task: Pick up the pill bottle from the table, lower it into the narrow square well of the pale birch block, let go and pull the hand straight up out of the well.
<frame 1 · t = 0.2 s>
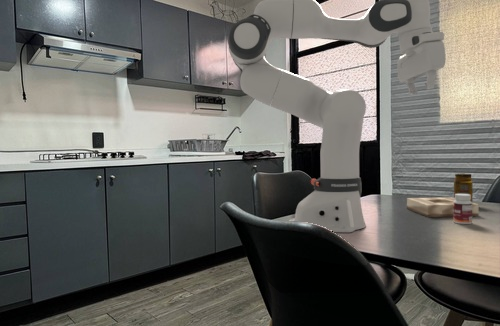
hand: (421, 91, 100), 39 cm above the table, tool pointing down, fingers open, 8 cm apart
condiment: (461, 206, 131), on the table
well block: (440, 212, 119), on the table
pill bottle: (462, 223, 102), on the table
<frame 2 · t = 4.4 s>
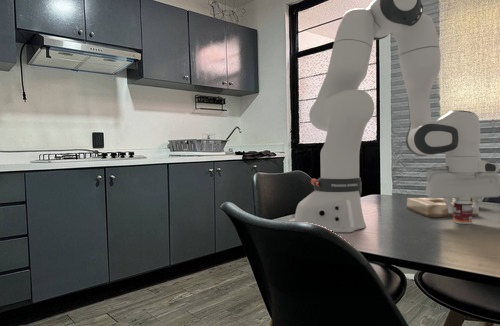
hand: (462, 212, 102), 3 cm above the table, tool pointing down, fingers closed on pill bottle, 5 cm apart
pill bottle: (462, 223, 102), on the table, touching gripper
everything else where it was.
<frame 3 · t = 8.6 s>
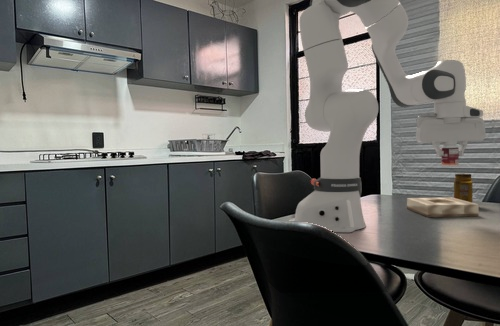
hand: (449, 156, 111), 19 cm above the table, tool pointing down, fingers closed on pill bottle, 5 cm apart
pill bottle: (449, 166, 111), point 16 cm above the table, touching gripper
everything else where it was.
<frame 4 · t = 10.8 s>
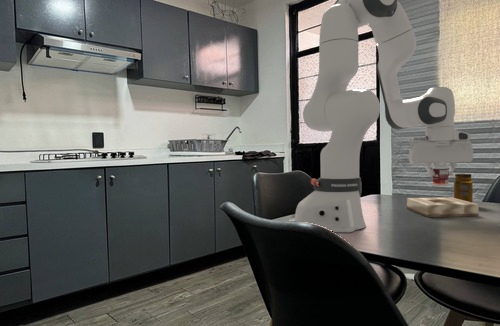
hand: (440, 176, 119), 12 cm above the table, tool pointing down, fingers closed on pill bottle, 5 cm apart
pill bottle: (440, 186, 119), point 9 cm above the table, touching gripper
everything else where it was.
when the fingers open (5 cm above the table, at t = 12.9 s): pill bottle stays where it is, resting on well block.
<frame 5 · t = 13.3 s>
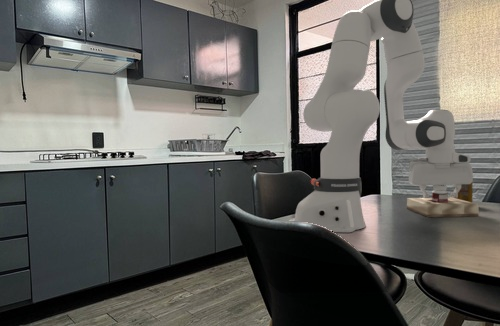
hand: (440, 197, 119), 5 cm above the table, tool pointing down, fingers open, 8 cm apart
pill bottle: (439, 210, 119), point 1 cm above the table, touching well block
everything else where it was.
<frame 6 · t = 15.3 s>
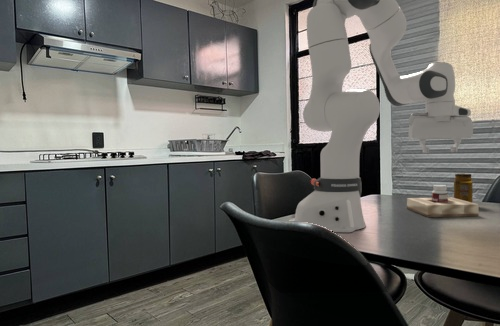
hand: (439, 152, 119), 20 cm above the table, tool pointing down, fingers open, 8 cm apart
nothing on the table moved.
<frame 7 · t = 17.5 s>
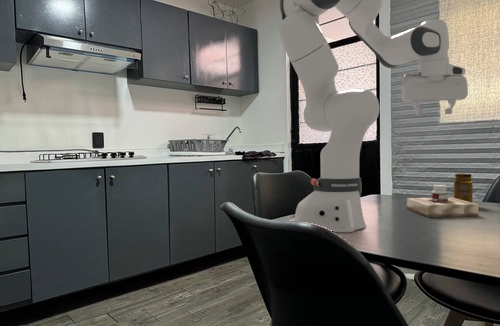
hand: (433, 114, 114), 33 cm above the table, tool pointing down, fingers open, 8 cm apart
nothing on the table moved.
at the end: pill bottle 0.1 cm off-centre on the well block, point 0.6 cm above the well block's base; pill bottle tilted 0°; the gripper is holding nothing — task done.
